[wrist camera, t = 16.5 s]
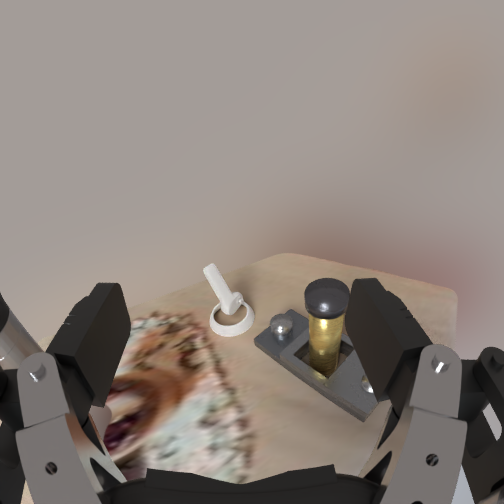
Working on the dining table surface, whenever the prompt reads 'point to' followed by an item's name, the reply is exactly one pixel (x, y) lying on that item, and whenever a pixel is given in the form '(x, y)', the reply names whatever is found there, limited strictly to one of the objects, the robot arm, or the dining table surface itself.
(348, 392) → the grey plate with studs
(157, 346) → the dining table surface
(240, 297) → the white vr controller
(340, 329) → the pin
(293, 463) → the dining table surface
